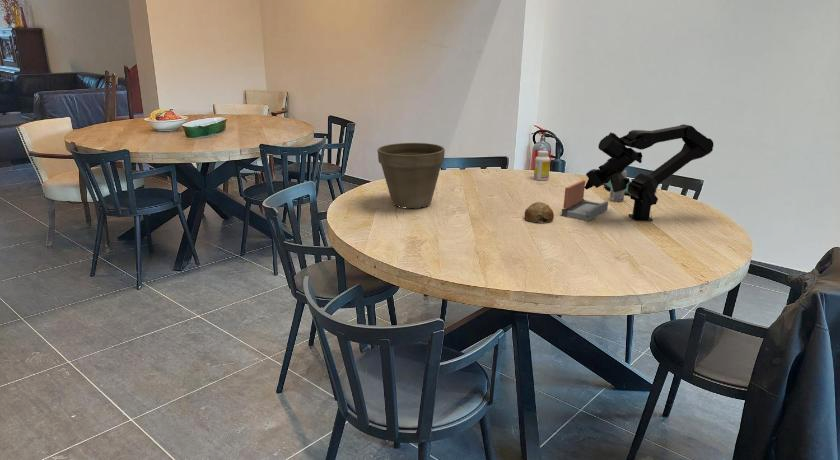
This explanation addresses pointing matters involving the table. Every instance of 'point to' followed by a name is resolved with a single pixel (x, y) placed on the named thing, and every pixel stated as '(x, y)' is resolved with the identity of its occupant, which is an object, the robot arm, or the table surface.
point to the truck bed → (588, 210)
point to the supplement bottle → (542, 166)
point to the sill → (573, 207)
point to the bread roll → (539, 213)
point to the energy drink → (618, 195)
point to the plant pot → (411, 172)
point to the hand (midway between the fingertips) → (585, 188)
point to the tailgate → (574, 194)
